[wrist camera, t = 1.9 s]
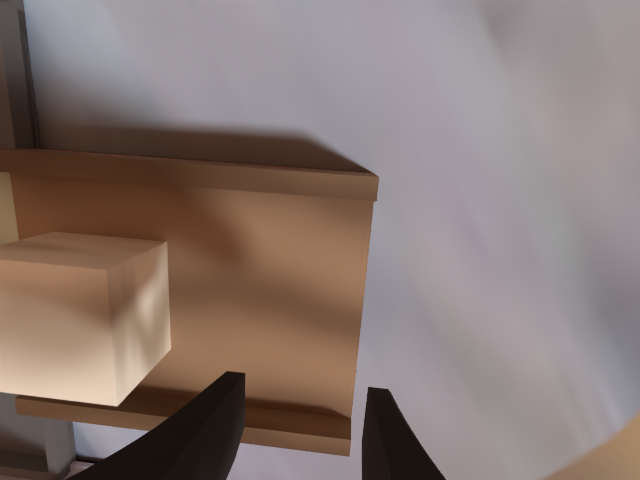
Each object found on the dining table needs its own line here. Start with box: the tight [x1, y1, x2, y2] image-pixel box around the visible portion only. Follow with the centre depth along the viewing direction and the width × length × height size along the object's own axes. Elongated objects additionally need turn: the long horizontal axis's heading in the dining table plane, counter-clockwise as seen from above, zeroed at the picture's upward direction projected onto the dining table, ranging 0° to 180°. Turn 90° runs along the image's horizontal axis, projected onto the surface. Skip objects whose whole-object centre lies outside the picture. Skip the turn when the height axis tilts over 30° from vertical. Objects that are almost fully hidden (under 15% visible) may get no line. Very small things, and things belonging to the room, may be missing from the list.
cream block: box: [0, 232, 171, 406], centre depth 16 cm, size 6×6×4 cm
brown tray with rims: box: [0, 148, 379, 456], centre depth 19 cm, size 16×32×4 cm, turn 86°
